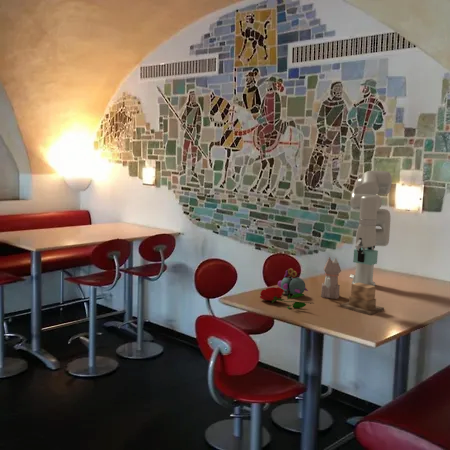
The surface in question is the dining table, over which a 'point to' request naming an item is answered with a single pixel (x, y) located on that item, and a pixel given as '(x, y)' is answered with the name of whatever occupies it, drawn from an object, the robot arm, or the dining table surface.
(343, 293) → the dining table surface
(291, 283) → the toy
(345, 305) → the pedestal board
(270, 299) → the flower
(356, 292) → the tan block
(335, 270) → the toy
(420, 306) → the dining table surface
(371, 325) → the dining table surface
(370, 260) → the teal brick
